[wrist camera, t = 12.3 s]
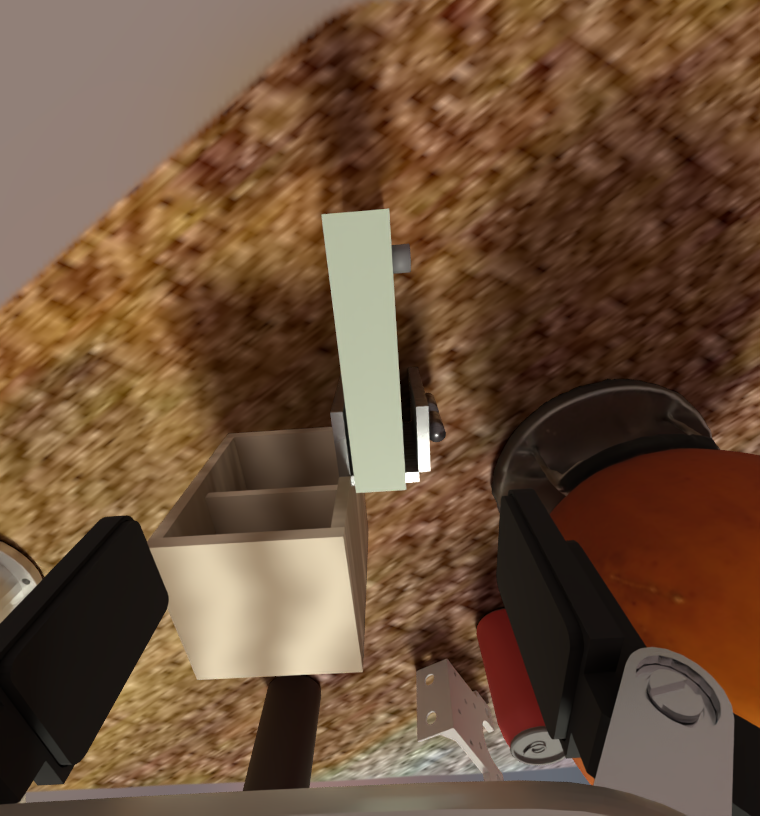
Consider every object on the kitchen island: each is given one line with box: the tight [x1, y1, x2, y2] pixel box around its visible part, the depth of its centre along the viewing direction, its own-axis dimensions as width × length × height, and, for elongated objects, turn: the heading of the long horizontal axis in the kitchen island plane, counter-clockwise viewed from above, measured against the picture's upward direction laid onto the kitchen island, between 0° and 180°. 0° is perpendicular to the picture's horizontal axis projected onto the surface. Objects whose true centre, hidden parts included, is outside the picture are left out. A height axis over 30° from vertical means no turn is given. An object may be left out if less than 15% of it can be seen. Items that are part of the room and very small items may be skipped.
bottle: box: [243, 675, 321, 791], centre depth 41 cm, size 7×7×20 cm
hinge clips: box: [330, 367, 446, 486], centre depth 30 cm, size 8×6×8 cm
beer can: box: [477, 608, 566, 765], centre depth 40 cm, size 7×7×12 cm
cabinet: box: [147, 427, 368, 680], centre depth 31 cm, size 12×12×14 cm
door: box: [322, 209, 411, 493], centre depth 26 cm, size 15×4×12 cm, turn 4°
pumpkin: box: [491, 379, 760, 785], centre depth 24 cm, size 22×22×30 cm
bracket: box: [416, 659, 504, 781], centre depth 46 cm, size 11×4×10 cm, turn 34°
